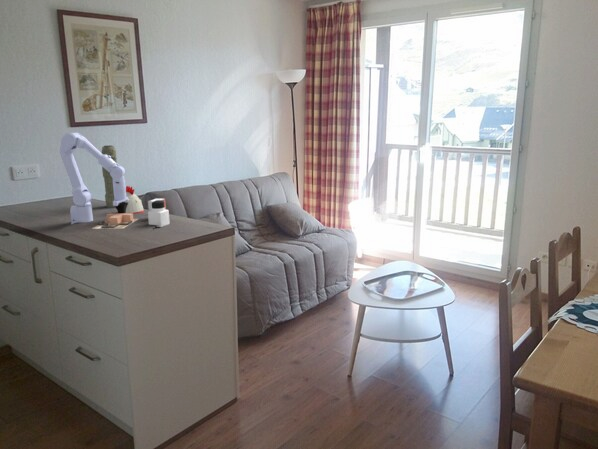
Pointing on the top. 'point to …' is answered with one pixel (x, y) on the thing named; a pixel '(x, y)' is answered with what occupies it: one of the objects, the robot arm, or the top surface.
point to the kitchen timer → (133, 202)
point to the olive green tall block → (109, 176)
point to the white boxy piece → (154, 200)
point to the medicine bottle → (158, 214)
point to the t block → (119, 218)
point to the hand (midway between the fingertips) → (122, 217)
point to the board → (106, 225)
